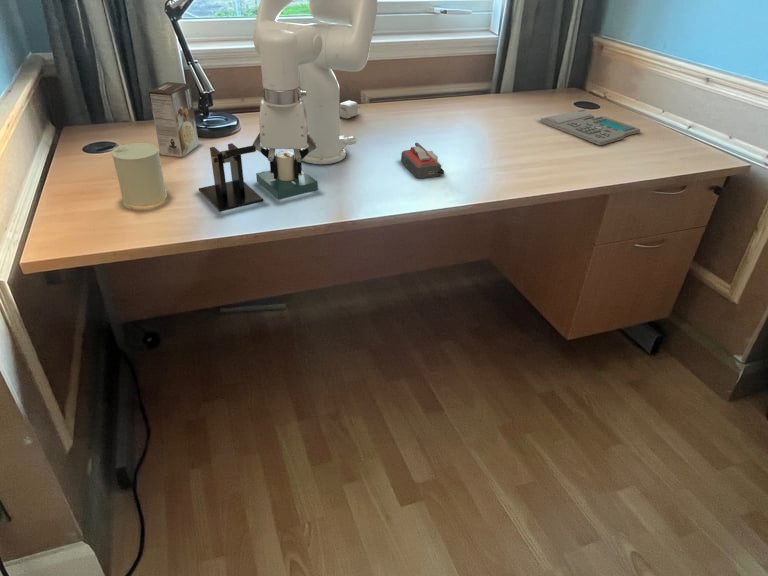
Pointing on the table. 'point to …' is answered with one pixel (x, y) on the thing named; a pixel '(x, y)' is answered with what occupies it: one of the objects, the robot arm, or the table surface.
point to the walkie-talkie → (421, 162)
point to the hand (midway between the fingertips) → (286, 175)
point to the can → (139, 174)
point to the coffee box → (174, 118)
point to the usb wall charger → (348, 109)
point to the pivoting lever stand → (228, 184)
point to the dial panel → (286, 185)
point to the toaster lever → (236, 153)
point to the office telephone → (590, 126)
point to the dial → (285, 165)
